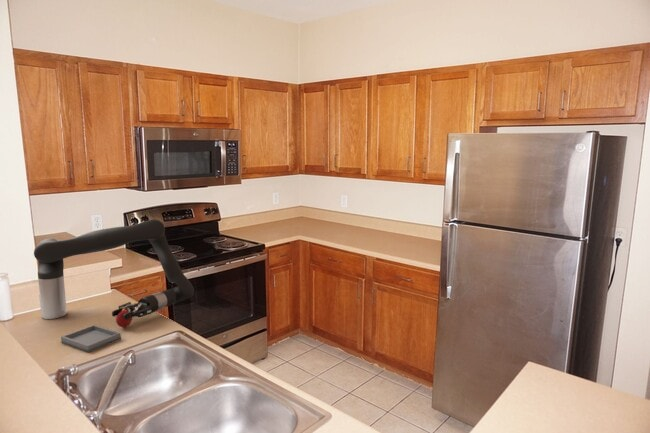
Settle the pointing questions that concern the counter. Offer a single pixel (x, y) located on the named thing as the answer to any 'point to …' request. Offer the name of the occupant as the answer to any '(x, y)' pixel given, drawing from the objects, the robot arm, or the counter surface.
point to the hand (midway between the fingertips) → (118, 315)
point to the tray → (90, 338)
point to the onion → (121, 321)
